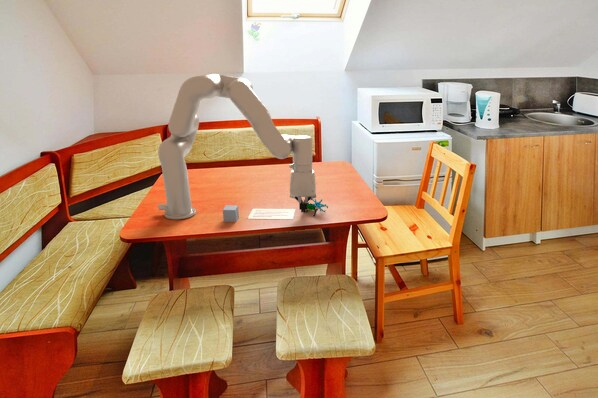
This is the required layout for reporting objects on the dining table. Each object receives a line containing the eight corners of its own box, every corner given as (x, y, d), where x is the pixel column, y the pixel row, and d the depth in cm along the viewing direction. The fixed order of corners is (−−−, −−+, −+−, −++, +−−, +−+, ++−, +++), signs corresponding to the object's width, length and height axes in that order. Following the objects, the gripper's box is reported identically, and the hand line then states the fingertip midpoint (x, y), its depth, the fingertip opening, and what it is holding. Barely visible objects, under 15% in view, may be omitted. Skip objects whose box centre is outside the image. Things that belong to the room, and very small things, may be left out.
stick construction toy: (332, 207, 171) (322, 195, 167) (327, 221, 168) (317, 209, 163) (308, 209, 179) (299, 198, 174) (303, 222, 175) (293, 211, 171)
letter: (247, 218, 168) (247, 218, 168) (252, 208, 178) (252, 208, 178) (292, 219, 166) (292, 219, 166) (295, 209, 176) (295, 209, 176)
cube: (223, 221, 166) (222, 209, 164) (226, 216, 170) (225, 205, 169) (236, 221, 165) (235, 210, 164) (239, 217, 170) (238, 205, 168)
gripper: (282, 170, 162) (283, 214, 168) (321, 170, 161) (321, 215, 167) (284, 165, 169) (286, 207, 175) (322, 165, 168) (322, 208, 174)
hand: (303, 211), depth 171 cm, fingers closed
